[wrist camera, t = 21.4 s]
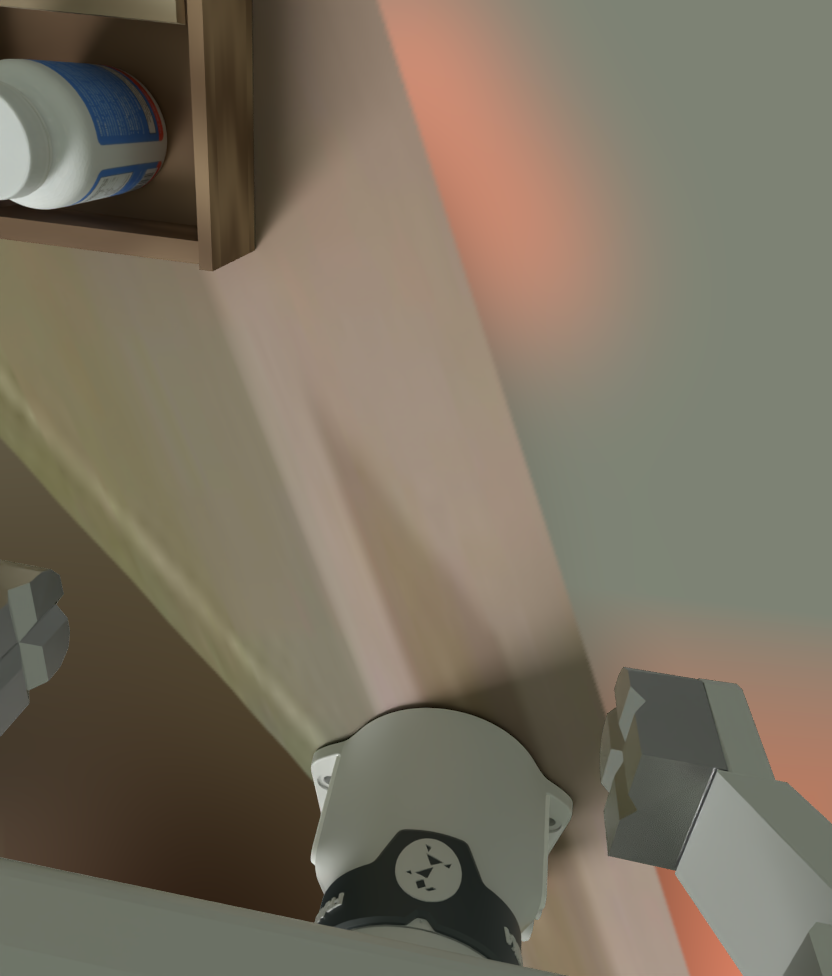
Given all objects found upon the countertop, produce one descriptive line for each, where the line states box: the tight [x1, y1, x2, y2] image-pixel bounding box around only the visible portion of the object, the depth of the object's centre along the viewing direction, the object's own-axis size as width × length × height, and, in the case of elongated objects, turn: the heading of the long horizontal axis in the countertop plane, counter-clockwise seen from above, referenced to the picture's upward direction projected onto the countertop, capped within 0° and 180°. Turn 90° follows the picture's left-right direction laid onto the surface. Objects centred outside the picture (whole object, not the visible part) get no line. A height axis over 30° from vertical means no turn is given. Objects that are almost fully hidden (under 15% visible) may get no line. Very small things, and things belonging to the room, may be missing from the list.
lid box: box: [0, 0, 255, 271], centre depth 32 cm, size 13×13×6 cm
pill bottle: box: [0, 59, 167, 209], centre depth 30 cm, size 6×5×10 cm
